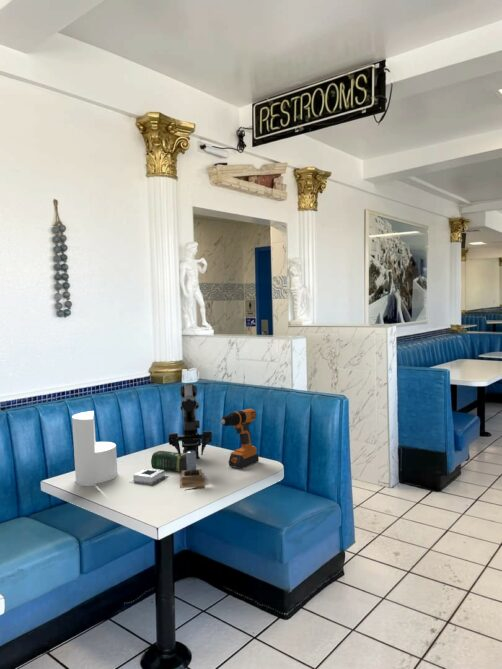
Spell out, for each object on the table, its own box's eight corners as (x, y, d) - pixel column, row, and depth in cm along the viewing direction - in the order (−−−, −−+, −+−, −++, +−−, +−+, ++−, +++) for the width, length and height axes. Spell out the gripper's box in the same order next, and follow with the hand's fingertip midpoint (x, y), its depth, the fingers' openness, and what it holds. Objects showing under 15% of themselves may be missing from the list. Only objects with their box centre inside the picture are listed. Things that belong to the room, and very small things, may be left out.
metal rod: (190, 478, 216) (189, 449, 215) (198, 479, 215) (197, 450, 214) (185, 481, 213) (184, 452, 212) (193, 482, 211) (192, 453, 210)
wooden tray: (180, 477, 221) (179, 467, 221) (203, 475, 222) (203, 466, 222) (179, 490, 205) (179, 480, 205) (204, 488, 206) (204, 478, 206)
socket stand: (146, 475, 224) (146, 466, 224) (169, 478, 219) (169, 469, 219) (128, 484, 214) (128, 475, 213) (152, 488, 208) (152, 478, 208)
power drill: (230, 474, 222) (228, 417, 221) (218, 470, 227) (215, 415, 225) (261, 461, 239) (260, 407, 237) (249, 458, 244) (247, 406, 242)
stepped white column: (74, 488, 212) (70, 421, 210) (77, 474, 229) (73, 412, 227) (117, 482, 217) (114, 417, 215) (117, 470, 233) (113, 408, 231)
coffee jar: (149, 470, 229) (185, 475, 221) (150, 452, 229) (185, 456, 222) (162, 466, 238) (197, 470, 230) (162, 449, 238) (197, 452, 230)
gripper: (167, 415, 223) (167, 447, 213) (210, 412, 226) (213, 444, 216) (169, 428, 232) (169, 460, 222) (210, 425, 234) (212, 457, 224)
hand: (191, 455), depth 221 cm, fingers open, 9 cm apart
